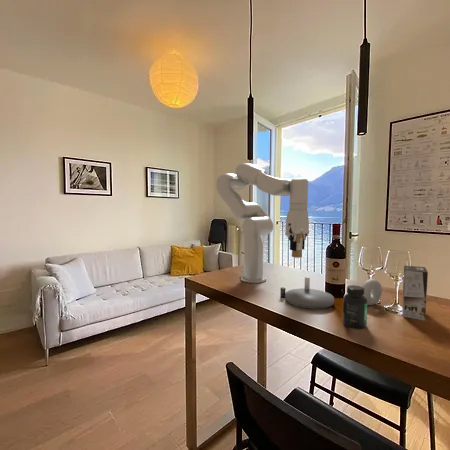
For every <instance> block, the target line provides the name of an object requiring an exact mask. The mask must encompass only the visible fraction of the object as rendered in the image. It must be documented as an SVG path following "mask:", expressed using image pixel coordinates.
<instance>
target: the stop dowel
mask: <svg viewBox="0 0 450 450" xmlns="http://www.w3.org/2000/svg"><path fill="white" fill-rule="evenodd" d="M279 290H280V293H279V294H280V296H279V298H280V299H282V300H286V299H285V294H286V292H287V291H286V288H285V287H280V289H279Z"/></svg>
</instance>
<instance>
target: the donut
mask: <svg viewBox="0 0 450 450" xmlns="http://www.w3.org/2000/svg"><path fill="white" fill-rule="evenodd" d="M361 287H363V288H364V295H363V296H365V297H366V298H367V306H374V305H375V304H377V303H378V302H379V301H380V299H381V297H382V295H383V287H382V284H381V282H380V281H379V280H377V279H375V278H370V279H369V278H368V279H367V280H366V281H365V282H364V283H363V284H362V286H361Z"/></svg>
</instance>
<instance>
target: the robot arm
mask: <svg viewBox="0 0 450 450" xmlns="http://www.w3.org/2000/svg"><path fill="white" fill-rule="evenodd" d="M234 172H235V173H230V172H229V173H227V172H226V173H222V174H220V175H218V177H217V178H216V185H215V187H216V192H217V193H218V195H219V197H220V198H221V199H222V201H223V202H224V203H225V204H226V205H227V207H228V208H229V210H230V212H231V213H232V214H233V215H234V217H235V218H236V219H237V220H239V221H243V222H242V225H241V231H242V236H243V237H242V238H243V268H242V269H241V270H240V273H242V276H241V277H240V281H242V282H244V283H249V284H251V283H252V284H260V283H264V282H266V281H267V277H266V276H265V275H264V242H263V240H262V236H266V235H269V234H271V233H272V232H273V230H274V223H273V221H272V218H271V217H270V216H269V214H268V213H267V212H266V211H265V210H264V208H263V207H262V206H261V205H260V204H258V203H256V202H253V201H252V202H251V201H249V202H248V201H245V200H244V199H243V197H242V195H240V193H238V192H237V190H238V191H240V190H244V189H246V188H247V187H249V186H251V185H253V186H255V187H256V188H257V189H258V190H260V191H261V192H264V193H266V194H269V195H272V196H278V197H279V196H281V197H289V210H288V211H287V214H286V218H285V219H286V220H285V233H284V235H285V236H286V237H287V239H288V241H289V250H291V251H292V250H293V251H296V246H297V241H296V236H297V234H300V233H301V228H303V231H302V233H303V244H302V251H303V250H305V241H306V240H307V237H308V235H309V234H310V230H309V228H310V227H309V226H310V225H309V223H310V221H309V220H310V219H309V212H308V207H309V206H308V205H309V204H308V201H309V180H308V179H307V178H303V177H301V178H300V177H298V178H297V177H296V178H292V179H289V178H281V177H280V178H279V177H274V176H271V175H268V173H267V171H266V169H263V168H261V167H260V166H259V165H257V164H255V163H247V162H243V163H239V164H238V165H237V166H236V167H235V171H234ZM235 190H236V191H235ZM293 235H294V236H293Z"/></svg>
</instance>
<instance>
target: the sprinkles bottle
mask: <svg viewBox="0 0 450 450" xmlns="http://www.w3.org/2000/svg"><path fill="white" fill-rule="evenodd" d="M302 231H303V228H301V233H300V234H297V236H296V241H297V246H296V251H293V250H291V257H292V258H296V259H298V258H300V259H301V258H302V257H303V250H302V244H303V233H302ZM292 236H294V235H292Z"/></svg>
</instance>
